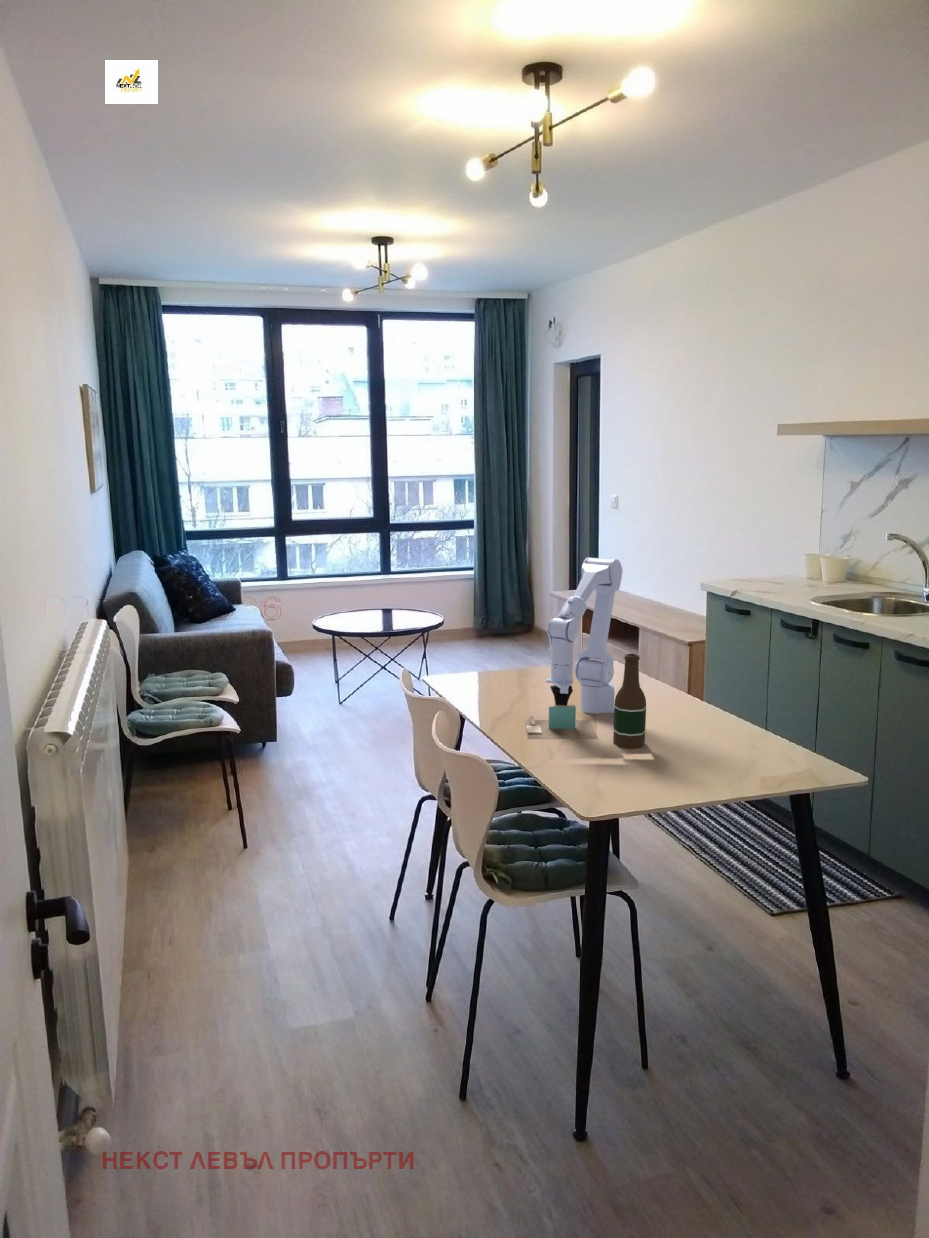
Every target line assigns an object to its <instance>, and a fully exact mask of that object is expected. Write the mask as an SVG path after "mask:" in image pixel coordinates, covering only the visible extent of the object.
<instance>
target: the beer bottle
mask: <svg viewBox="0 0 929 1238" xmlns="http://www.w3.org/2000/svg"><path fill="white" fill-rule="evenodd" d="M640 659H641V658H640V655H639V654H636V653H627V654H626V653H625V655H624V657H623V660H624V671H623V681H622V684H621V685H622V686H621V687H620V689H619V690H618V691H617V693H616V695H615V697H614V713H613V739H612V740H613V741H612V742H613V745H615V746H616V747H618V748H622V749H629V750H632V749H633V750H634V749H640V748H642V747H644V746H645V742H646V722H647V721H646V719H647V718H646V717H647V698H646V696H645V692H644V691H643V689H642V688H641V686H640V671H639V667H640V666H639V664H640V663H639V660H640Z"/></svg>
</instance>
